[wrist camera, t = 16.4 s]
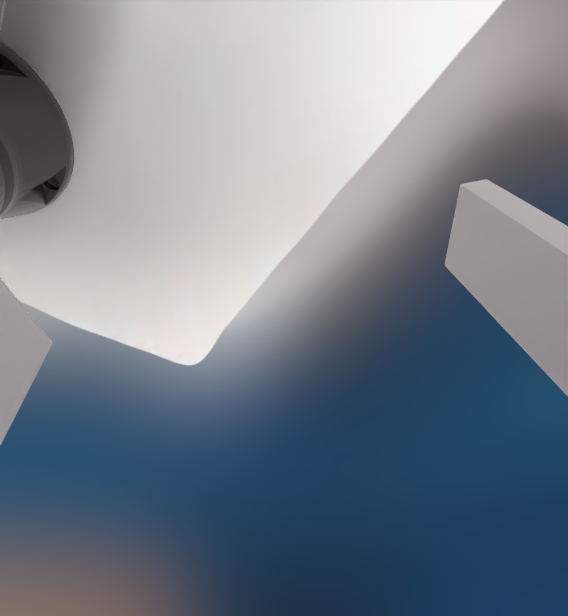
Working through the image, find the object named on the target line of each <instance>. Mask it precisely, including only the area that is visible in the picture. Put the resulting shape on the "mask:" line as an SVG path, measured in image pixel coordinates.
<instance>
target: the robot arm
mask: <svg viewBox="0 0 568 616" xmlns="http://www.w3.org/2000/svg"><path fill="white" fill-rule="evenodd" d="M6 2H7V0H0V32H1V27H2V22H3V17H4V12H5V7H6ZM73 163H74V149H73V142H72V137H71V133H70V130H69V126H68V124H67V121H66V119H65V116H64V114H63V112H62V110H61V108H60V106H59V104H58V103H57V101H56V99H55V98H54V96H53V95H52V93H51V92H50V90H49V89H48V87H47V86H46V85H45V83H44V82H43V81H42V80H41V78H40V77H39V76H38V75H37V74H36V73H35V72H34V71H33V69H32V68H31V67H30V66H29V65H28V64H27V63H26V62H25V61H23V60H22V59H21V58H20V57H19V56H18V55H17V54H15V53H14V52H13V51H12V50H11V49H9V48H8V47H7V46H5V45H4V44H2V43H1V42H0V219H3V218H8V217H14V216H19V215H25V214H29V213H32V212H35V211H38V210H40V209H42V208H44V207H46V206H47V205H49V204H50V203H52V202H53V201H54V200H55V199H56V198H57V197H58V196H59V195H60V194H61V193H62V192H63V191H64V189H65V188H66V186H67V184H68V182H69V180H70V177H71V174H72V170H73ZM445 266H446V267H447V268H448V269H449V270H450V272H452V274H453V275H454V276H455V277H456V278H457V279H458V280H459V281H460V282H461V283H462V284H463V285H464V286H465V287H466V289H467V290H468V291H469V292H470V293H471V294H472V295H473V296H474V297H475V298H476V299H477V300H478V301H479V302H480V303H481V304H482V305H483V306H484V308H485V309H486V310H487V311H488V312H489V313H490V314H491V315H492V316H493V317H494V318H495V319H496V320H497V321H498V323H499V324H500V325H501V326H502V327H503V328H504V329H505V330H506V331H507V332H508V333H509V334H510V335H511V336H512V337H513V339H514V340H516V342H517V343H518V344H519V345H520V346H521V347H522V348H523V349H524V350H525V351H526V352H527V353H528V354H529V356H531V358H532V359H533V360H534V361H535V362H536V363H537V364H538V365H539V366H540V367H541V368H542V369H543V370H544V371H545V373H546V374H547V375H548V376H549V377H550V378H551V379H552V380H553V381H554V382H555V383H556V384H557V385H558V386H559V387H560V388H561V390H562V391H563V392H564V393H565V394H566V395H567V396H568V226H566V225H564V224H563V223H561V222H559V221H558V220H556V219H554V218H552V217H550V216H549V215H547V214H545V213H544V212H542V211H540V210H539V209H537V208H535V207H533V206H532V205H530V204H528V203H527V202H525V201H523V200H521V199H520V198H518V197H516V196H514V195H513V194H511V193H509V192H508V191H506V190H504V189H502V188H501V187H499V186H497V185H496V184H494V183H492V182H490V181H489V180H481V181H475V182H470V183H465V184H461V185H460V190H459V195H458V200H457V206H456V210H455V215H454V220H453V225H452V230H451V236H450V240H449V245H448V250H447V256H446V261H445ZM51 345H52V341H51V340H50V339H49V338H48V336H47V335H46V334H45V333H44V332H43V330H42V329H41V328H40V327H39V325H38V324H37V323H36V322H35V321H34V319H33V318H32V317H31V315H30V314H29V313H28V312H27V311H26V309H25V308H24V307H23V306H22V304H21V303H20V302H19V301H18V299H17V298H16V297H15V296H14V294H13V293H12V292H11V291H10V289H9V288H8V287H7V286H6V285H5V283H4V282H3V281H2V280H1V278H0V445H1V443H2V441H3V439H4V437H5V435H6V433H7V431H8V429H9V427H10V425H11V423H12V421H13V420H14V418H15V416H16V414H17V412H18V410H19V408H20V406H21V404H22V402H23V400H24V398H25V396H26V394H27V392H28V390H29V388H30V386H31V384H32V382H33V380H34V378H35V377H36V375H37V373H38V371H39V369H40V367H41V365H42V363H43V361H44V359H45V357H46V355H47V353H48V351H49V349H50V347H51Z"/></svg>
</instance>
